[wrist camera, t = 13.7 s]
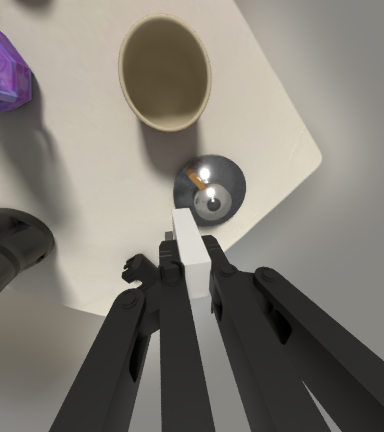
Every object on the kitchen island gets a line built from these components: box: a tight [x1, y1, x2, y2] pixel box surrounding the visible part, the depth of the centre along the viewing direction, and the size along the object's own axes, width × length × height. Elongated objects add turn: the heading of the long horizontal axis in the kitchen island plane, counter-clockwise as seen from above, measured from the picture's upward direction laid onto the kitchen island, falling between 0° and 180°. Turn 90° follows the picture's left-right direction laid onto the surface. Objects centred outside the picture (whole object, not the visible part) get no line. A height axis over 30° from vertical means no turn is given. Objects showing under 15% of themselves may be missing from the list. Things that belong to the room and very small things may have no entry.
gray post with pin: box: [165, 231, 173, 241], centre depth 42 cm, size 6×5×9 cm
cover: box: [192, 180, 232, 220], centre depth 37 cm, size 8×8×5 cm
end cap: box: [122, 254, 158, 291], centre depth 47 cm, size 10×7×7 cm
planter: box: [118, 14, 211, 132], centre depth 27 cm, size 12×12×11 cm
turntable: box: [173, 154, 246, 226], centre depth 38 cm, size 18×18×7 cm
